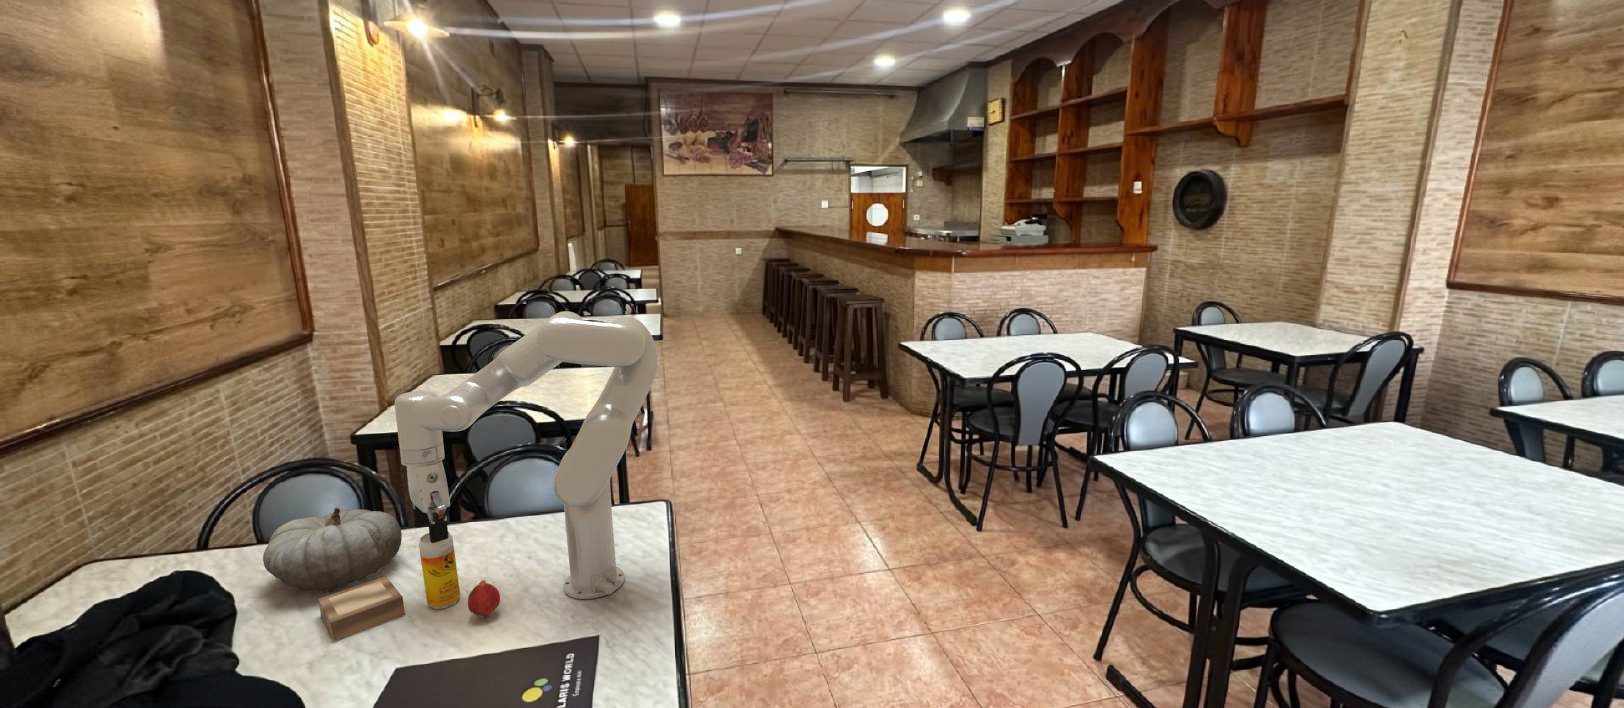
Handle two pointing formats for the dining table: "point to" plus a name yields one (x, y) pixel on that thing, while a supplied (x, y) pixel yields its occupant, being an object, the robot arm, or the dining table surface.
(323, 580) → the gourd
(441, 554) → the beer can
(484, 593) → the onion
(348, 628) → the walnut plinth
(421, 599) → the dining table surface
